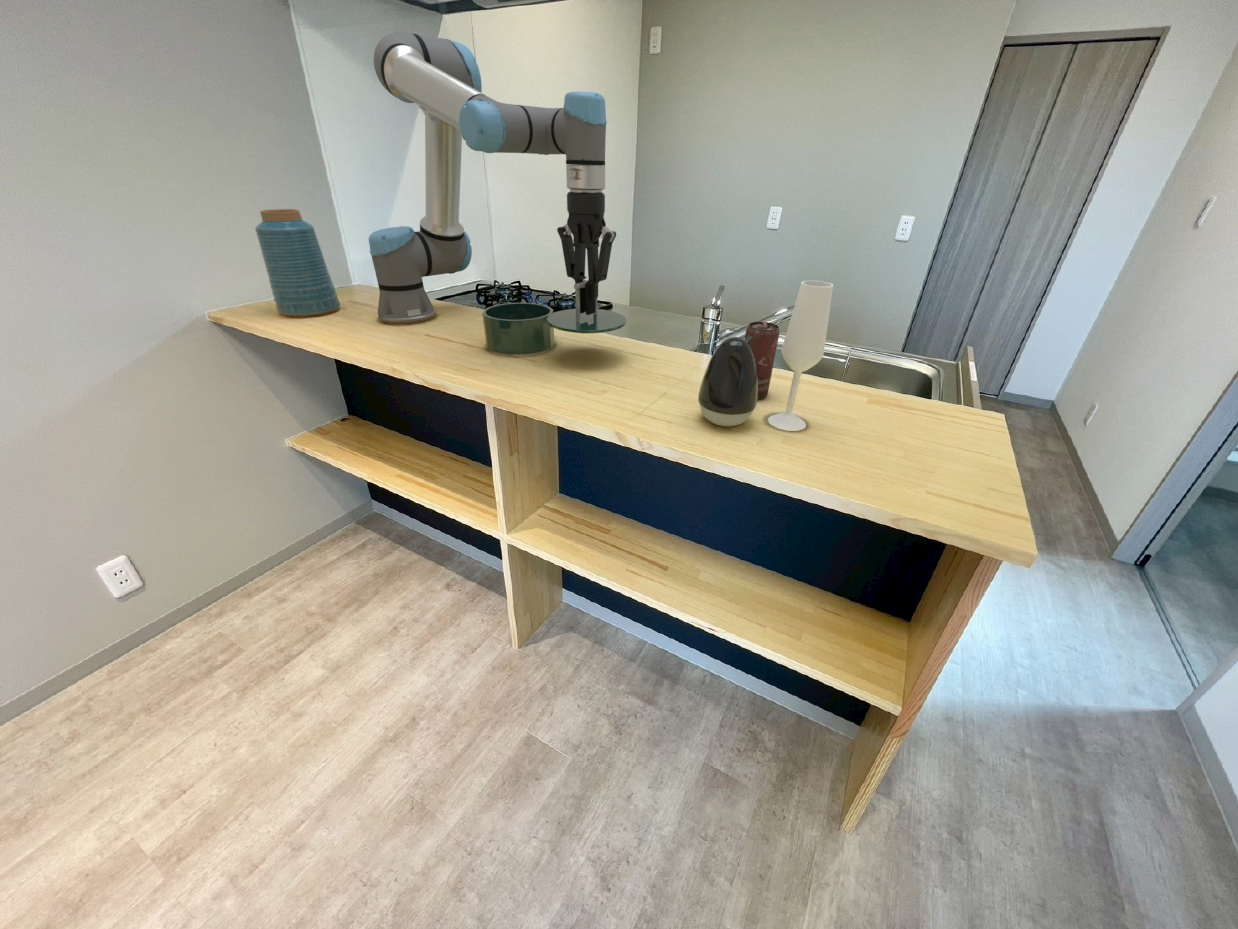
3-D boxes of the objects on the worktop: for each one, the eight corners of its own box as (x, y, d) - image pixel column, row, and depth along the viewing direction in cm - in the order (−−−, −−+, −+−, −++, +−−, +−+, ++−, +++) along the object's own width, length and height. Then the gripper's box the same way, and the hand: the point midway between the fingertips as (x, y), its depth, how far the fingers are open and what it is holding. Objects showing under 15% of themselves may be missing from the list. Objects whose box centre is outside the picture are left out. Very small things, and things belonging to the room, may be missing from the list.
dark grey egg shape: (764, 419, 89) (780, 337, 81) (733, 439, 83) (747, 351, 75) (716, 403, 95) (727, 324, 87) (684, 420, 89) (692, 337, 81)
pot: (472, 348, 120) (467, 313, 115) (517, 332, 132) (514, 299, 128) (525, 361, 113) (522, 324, 108) (567, 342, 125) (566, 308, 121)
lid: (531, 326, 107) (527, 282, 102) (576, 309, 120) (575, 269, 115) (599, 341, 100) (599, 294, 95) (639, 321, 113) (642, 279, 108)
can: (764, 388, 102) (777, 320, 94) (769, 401, 96) (783, 330, 89) (734, 386, 102) (745, 319, 95) (738, 399, 97) (749, 328, 90)
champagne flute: (764, 413, 92) (789, 278, 79) (800, 414, 91) (831, 279, 79) (772, 430, 86) (801, 287, 73) (811, 431, 86) (846, 289, 73)
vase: (332, 317, 140) (302, 213, 126) (269, 319, 137) (231, 213, 123) (347, 303, 154) (322, 208, 140) (290, 305, 151) (259, 207, 137)
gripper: (545, 189, 96) (550, 311, 109) (607, 193, 90) (605, 321, 103) (567, 188, 102) (570, 304, 114) (627, 192, 96) (623, 314, 108)
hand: (586, 312), depth 108 cm, fingers closed on lid
